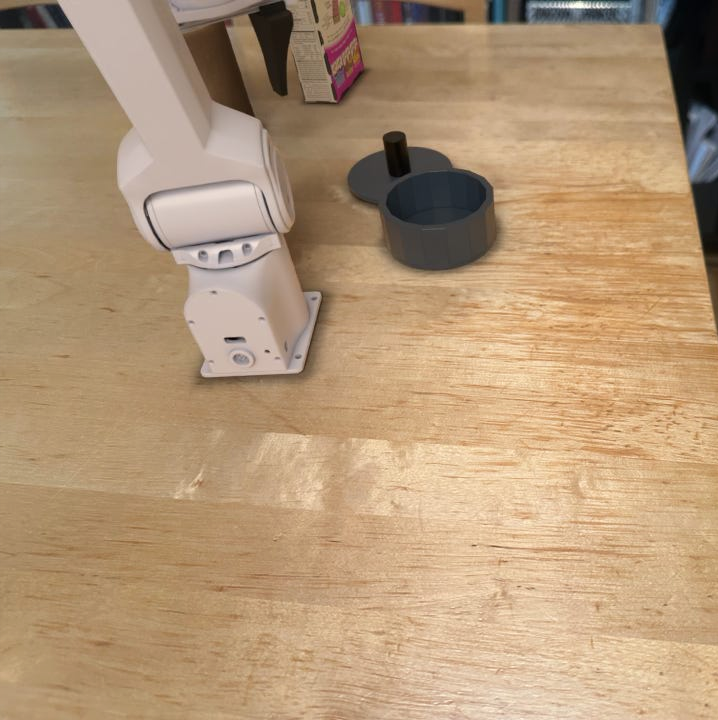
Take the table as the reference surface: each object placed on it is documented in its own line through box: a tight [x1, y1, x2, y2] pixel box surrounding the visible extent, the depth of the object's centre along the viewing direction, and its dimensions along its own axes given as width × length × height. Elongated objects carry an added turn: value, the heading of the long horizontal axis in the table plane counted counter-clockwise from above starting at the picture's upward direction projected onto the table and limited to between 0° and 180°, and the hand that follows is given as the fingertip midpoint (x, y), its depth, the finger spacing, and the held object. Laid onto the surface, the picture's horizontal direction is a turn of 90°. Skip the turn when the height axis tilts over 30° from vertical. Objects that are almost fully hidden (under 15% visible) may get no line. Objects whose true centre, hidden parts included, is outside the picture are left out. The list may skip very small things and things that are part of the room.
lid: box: [346, 130, 453, 205], centre depth 68 cm, size 11×11×5 cm
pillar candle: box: [181, 20, 256, 118], centre depth 74 cm, size 10×10×15 cm
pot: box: [377, 167, 497, 271], centre depth 61 cm, size 10×10×4 cm
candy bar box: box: [286, 0, 365, 104], centre depth 83 cm, size 11×5×16 cm, turn 168°
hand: (243, 105), depth 61 cm, fingers open, 7 cm apart
